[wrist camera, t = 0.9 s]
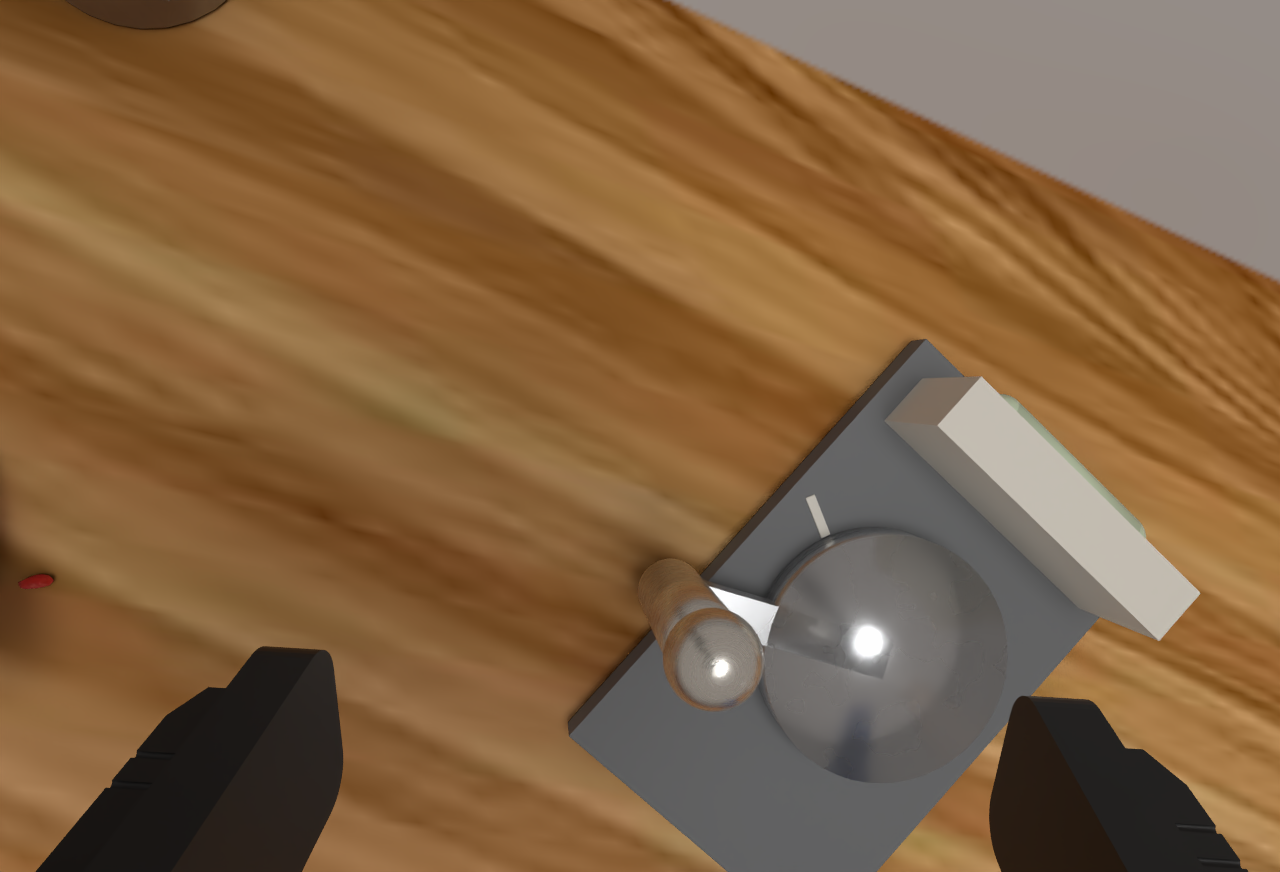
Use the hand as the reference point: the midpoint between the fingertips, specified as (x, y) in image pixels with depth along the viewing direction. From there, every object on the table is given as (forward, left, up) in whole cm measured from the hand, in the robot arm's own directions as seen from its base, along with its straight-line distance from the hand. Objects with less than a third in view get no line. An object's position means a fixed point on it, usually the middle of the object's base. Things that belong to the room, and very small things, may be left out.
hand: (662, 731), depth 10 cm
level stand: (+13, +3, -27) cm, 30 cm away
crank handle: (+11, +2, -25) cm, 28 cm away
